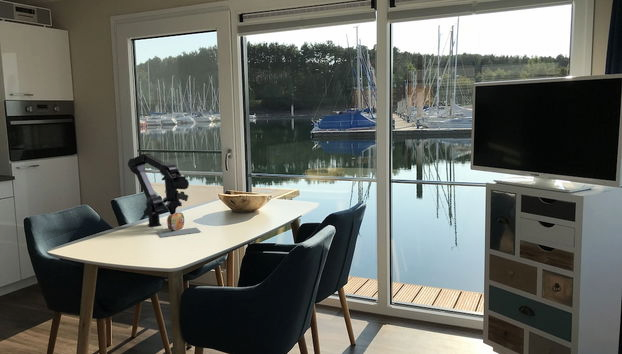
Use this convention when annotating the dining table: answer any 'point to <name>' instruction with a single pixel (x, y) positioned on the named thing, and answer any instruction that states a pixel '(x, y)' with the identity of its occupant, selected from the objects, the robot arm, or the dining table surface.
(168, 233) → the mat
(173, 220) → the tin
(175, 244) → the dining table surface
